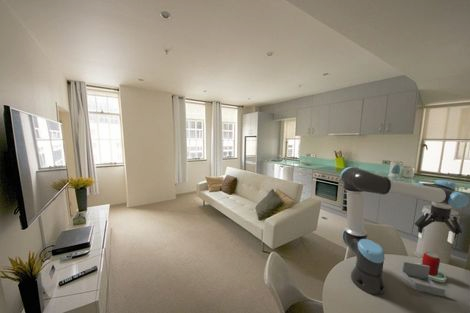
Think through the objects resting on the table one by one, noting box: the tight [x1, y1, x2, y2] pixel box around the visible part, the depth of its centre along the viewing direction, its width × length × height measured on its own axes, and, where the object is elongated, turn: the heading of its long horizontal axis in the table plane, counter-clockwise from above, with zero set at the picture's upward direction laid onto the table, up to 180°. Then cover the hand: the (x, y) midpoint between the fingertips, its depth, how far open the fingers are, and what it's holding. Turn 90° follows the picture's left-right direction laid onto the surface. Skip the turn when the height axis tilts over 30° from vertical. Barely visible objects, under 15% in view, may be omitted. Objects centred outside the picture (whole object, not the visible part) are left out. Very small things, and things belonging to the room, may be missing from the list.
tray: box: [415, 262, 447, 283], centre depth 105 cm, size 13×13×2 cm
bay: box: [400, 260, 446, 297], centre depth 97 cm, size 12×12×8 cm
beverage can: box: [421, 251, 441, 276], centre depth 105 cm, size 7×7×12 cm
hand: (435, 240), depth 103 cm, fingers open, 13 cm apart
